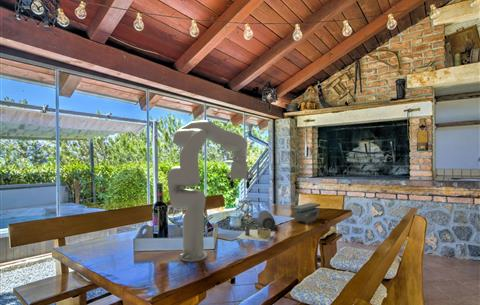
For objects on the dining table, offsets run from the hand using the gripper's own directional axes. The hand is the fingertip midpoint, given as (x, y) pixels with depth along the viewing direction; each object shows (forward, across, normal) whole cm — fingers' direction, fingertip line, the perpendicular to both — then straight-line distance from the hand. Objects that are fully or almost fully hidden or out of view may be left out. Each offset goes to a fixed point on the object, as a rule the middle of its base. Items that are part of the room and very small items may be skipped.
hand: (239, 188), depth 173 cm
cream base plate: (+28, +11, -4) cm, 30 cm away
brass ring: (+26, +16, -6) cm, 31 cm away
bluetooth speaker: (+28, +12, +18) cm, 36 cm away
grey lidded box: (+28, +35, +46) cm, 64 cm away
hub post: (+26, +6, -5) cm, 27 cm away
